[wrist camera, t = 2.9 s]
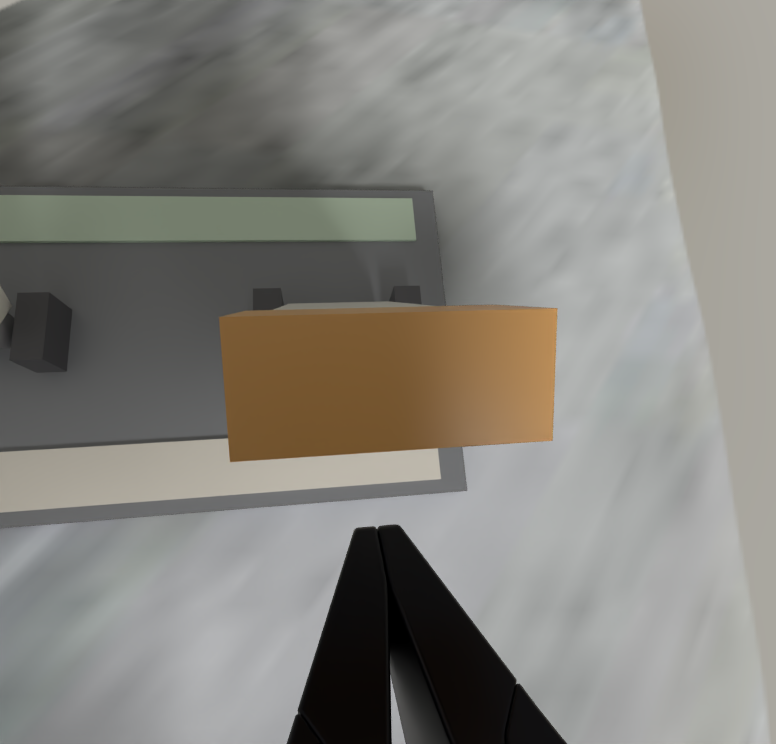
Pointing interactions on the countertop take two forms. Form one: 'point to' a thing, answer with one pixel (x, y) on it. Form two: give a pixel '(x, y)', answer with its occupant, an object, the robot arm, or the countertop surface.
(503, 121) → the countertop surface
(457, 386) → the lever
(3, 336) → the on lever
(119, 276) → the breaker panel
